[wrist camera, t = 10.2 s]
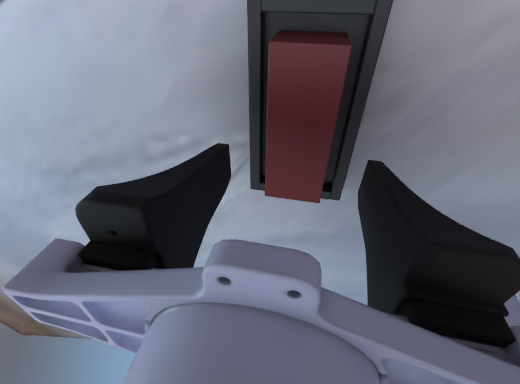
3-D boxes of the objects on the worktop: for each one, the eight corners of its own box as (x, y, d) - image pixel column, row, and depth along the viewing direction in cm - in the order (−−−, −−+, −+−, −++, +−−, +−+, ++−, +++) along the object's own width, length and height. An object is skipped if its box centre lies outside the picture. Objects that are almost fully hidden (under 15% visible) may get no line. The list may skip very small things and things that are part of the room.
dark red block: (347, 32, 15) (352, 45, 12) (320, 172, 22) (319, 203, 18) (279, 29, 16) (268, 40, 13) (273, 166, 22) (264, 196, 19)
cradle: (388, -6, 14) (394, -5, 13) (338, 189, 23) (339, 201, 21) (253, -8, 15) (246, -7, 14) (254, 178, 24) (250, 189, 23)
